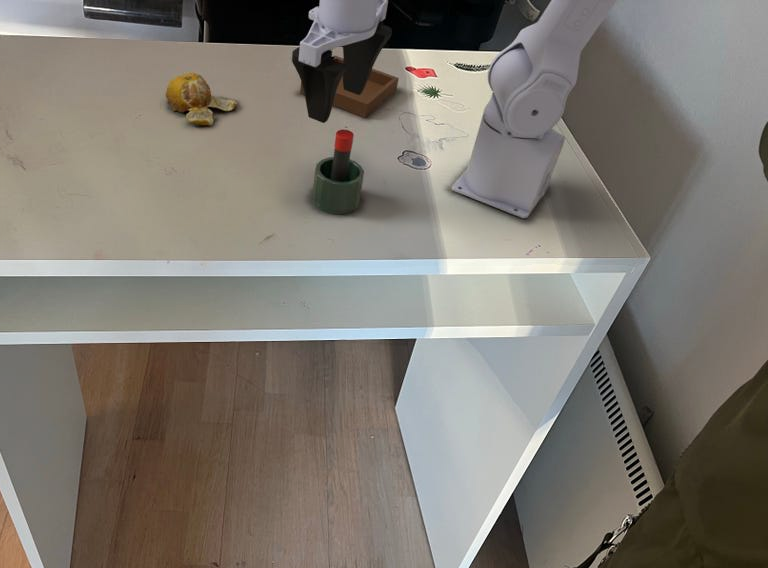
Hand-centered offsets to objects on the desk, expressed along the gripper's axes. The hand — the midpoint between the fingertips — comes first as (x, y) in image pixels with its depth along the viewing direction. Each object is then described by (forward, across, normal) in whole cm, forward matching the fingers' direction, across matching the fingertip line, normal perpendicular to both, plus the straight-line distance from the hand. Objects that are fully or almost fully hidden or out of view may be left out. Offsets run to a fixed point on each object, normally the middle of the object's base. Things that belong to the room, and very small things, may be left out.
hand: (335, 104), depth 82 cm
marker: (+9, +3, +3) cm, 10 cm away
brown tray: (+10, -20, -8) cm, 23 cm away
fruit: (+10, -3, -21) cm, 23 cm away
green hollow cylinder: (+10, +3, +3) cm, 10 cm away
